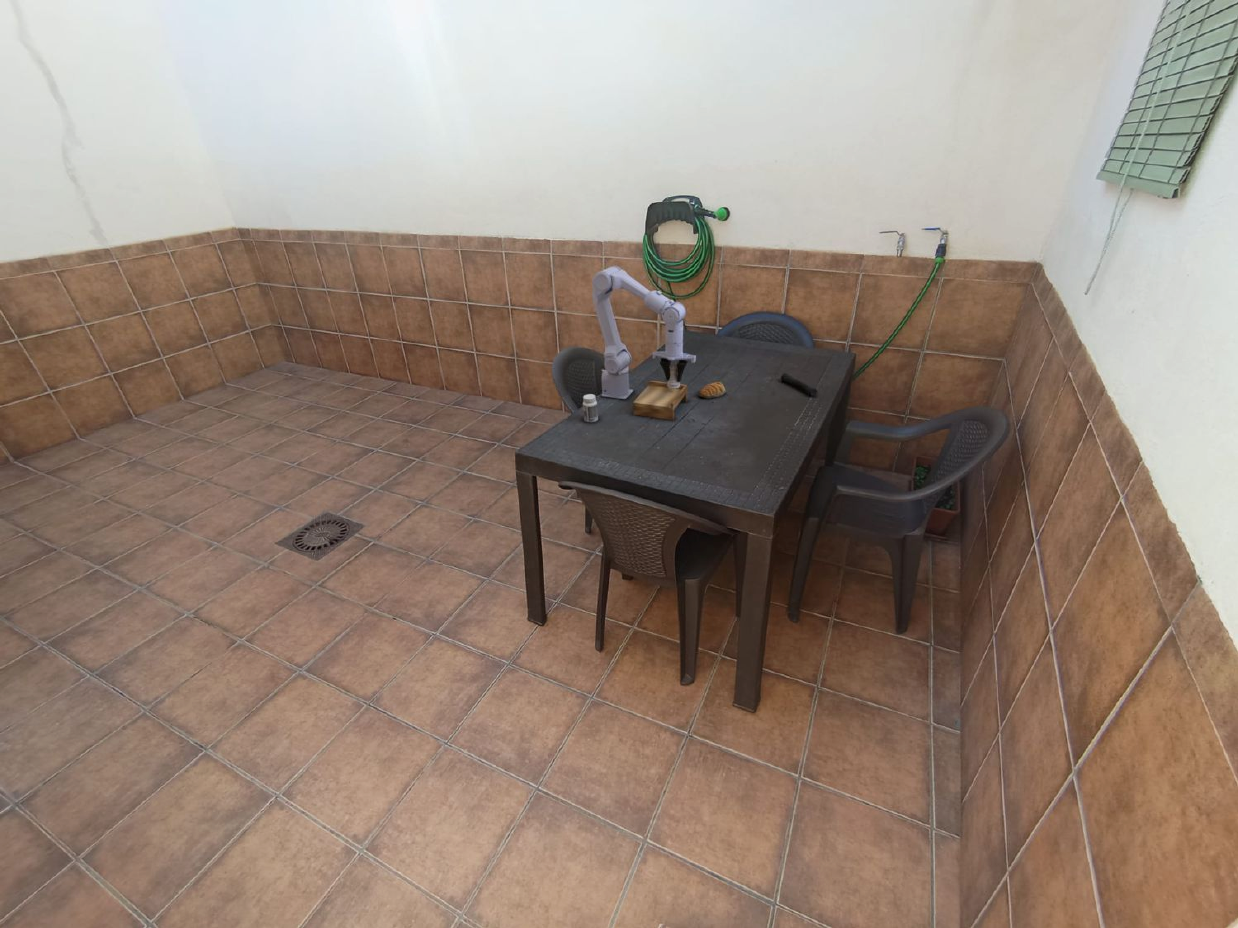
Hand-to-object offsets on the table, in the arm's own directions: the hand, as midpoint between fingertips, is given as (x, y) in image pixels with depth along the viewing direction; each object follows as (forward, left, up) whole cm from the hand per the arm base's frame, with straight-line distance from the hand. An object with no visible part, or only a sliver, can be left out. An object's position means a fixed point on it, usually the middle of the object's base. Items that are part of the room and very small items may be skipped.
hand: (673, 380), depth 190 cm
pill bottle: (-22, -20, -9) cm, 31 cm away
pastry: (+11, +12, -9) cm, 18 cm away
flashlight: (+38, +26, -9) cm, 47 cm away
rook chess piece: (0, 0, -3) cm, 3 cm away
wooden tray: (-3, -4, -9) cm, 10 cm away
